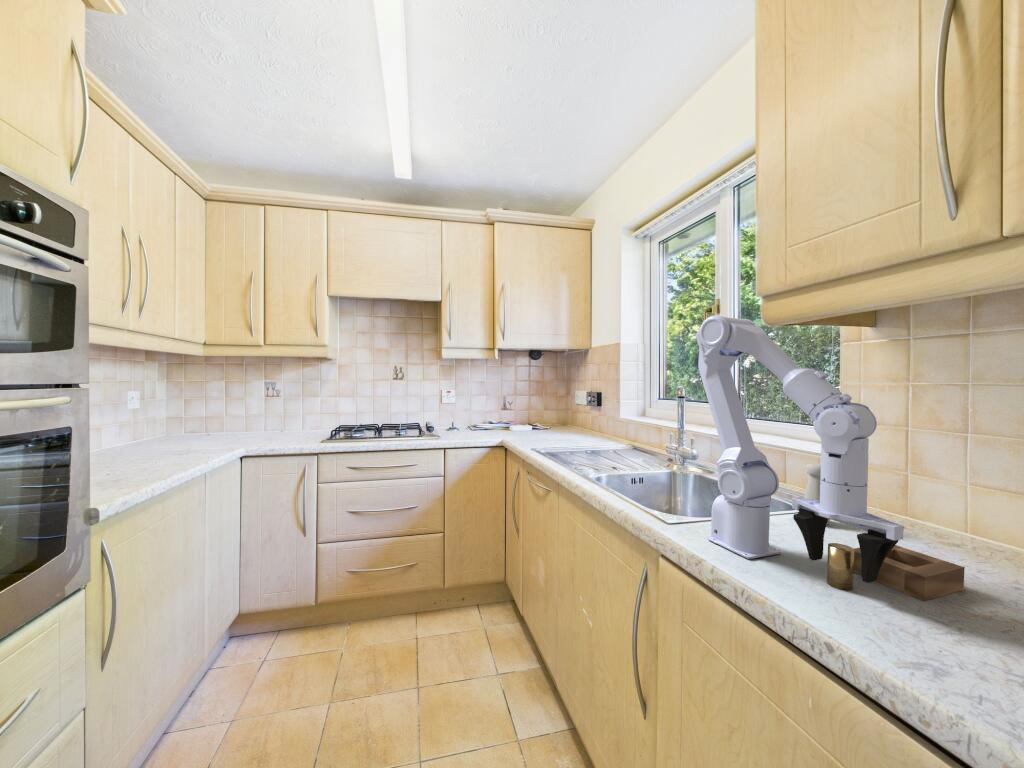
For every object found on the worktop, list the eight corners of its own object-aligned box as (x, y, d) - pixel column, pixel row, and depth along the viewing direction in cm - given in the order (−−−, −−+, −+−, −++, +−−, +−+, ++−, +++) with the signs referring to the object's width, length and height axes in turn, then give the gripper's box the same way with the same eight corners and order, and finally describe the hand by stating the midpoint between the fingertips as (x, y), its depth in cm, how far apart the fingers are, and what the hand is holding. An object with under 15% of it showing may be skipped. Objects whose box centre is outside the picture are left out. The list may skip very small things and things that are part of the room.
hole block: (848, 570, 70) (849, 549, 70) (886, 561, 73) (887, 542, 73) (924, 600, 60) (925, 577, 60) (963, 589, 64) (964, 567, 64)
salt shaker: (819, 517, 96) (821, 461, 96) (839, 526, 90) (841, 467, 90) (794, 517, 96) (796, 461, 96) (813, 526, 90) (815, 466, 90)
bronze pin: (821, 582, 66) (823, 544, 65) (835, 579, 67) (836, 541, 67) (844, 592, 63) (845, 552, 62) (858, 588, 64) (859, 549, 64)
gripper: (780, 473, 70) (778, 553, 70) (882, 496, 56) (879, 597, 56) (809, 470, 72) (807, 548, 72) (914, 492, 58) (911, 588, 59)
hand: (840, 569), depth 64 cm, fingers open, 7 cm apart
